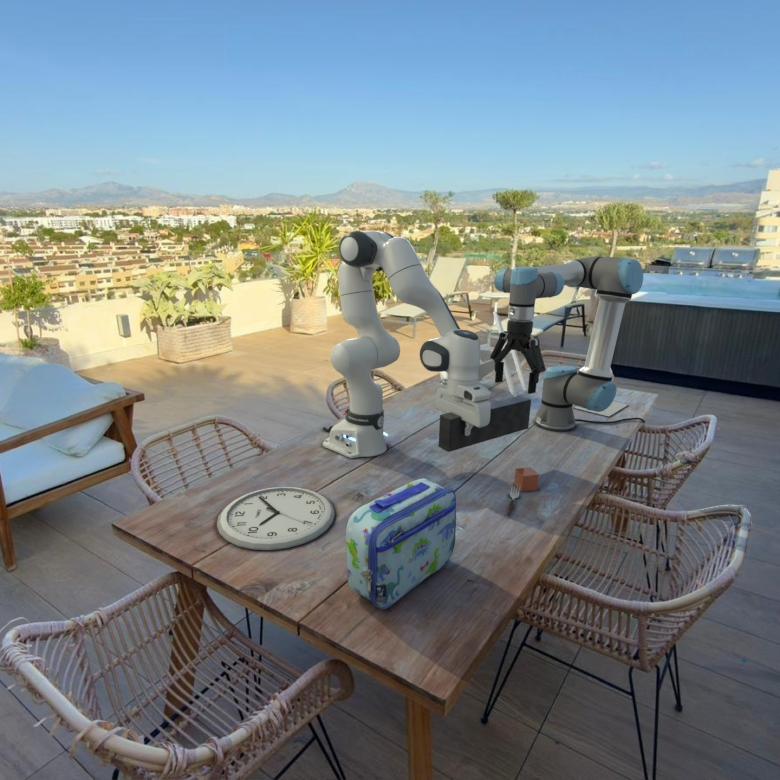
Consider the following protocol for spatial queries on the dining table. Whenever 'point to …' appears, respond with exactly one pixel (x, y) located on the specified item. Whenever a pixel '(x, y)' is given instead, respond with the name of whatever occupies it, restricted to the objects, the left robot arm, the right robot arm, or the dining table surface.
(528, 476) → the terracotta block
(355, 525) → the lunch box
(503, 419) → the bar
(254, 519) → the wall clock
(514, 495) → the fork
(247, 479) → the dining table surface
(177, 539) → the dining table surface
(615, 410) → the invitation card
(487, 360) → the white plastic object
